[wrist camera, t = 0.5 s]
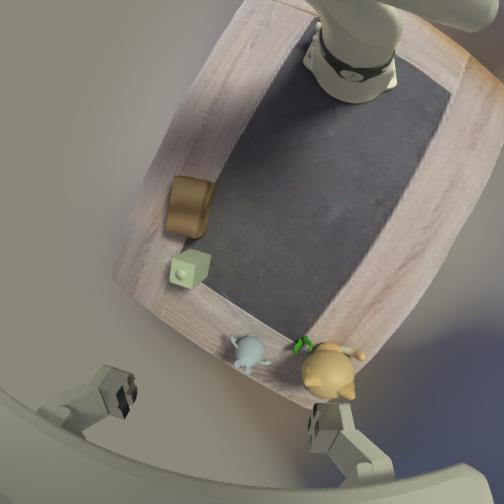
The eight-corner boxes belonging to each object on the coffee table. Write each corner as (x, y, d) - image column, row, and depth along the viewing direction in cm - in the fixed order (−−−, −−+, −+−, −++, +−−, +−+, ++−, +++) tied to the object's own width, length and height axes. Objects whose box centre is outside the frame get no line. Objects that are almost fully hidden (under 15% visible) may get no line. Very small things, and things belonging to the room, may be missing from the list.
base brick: (186, 176, 56) (174, 175, 52) (216, 182, 55) (206, 182, 50) (176, 225, 59) (165, 229, 55) (205, 234, 58) (195, 238, 53)
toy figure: (229, 335, 62) (210, 364, 51) (243, 316, 60) (225, 345, 49) (266, 360, 62) (255, 393, 50) (282, 343, 60) (273, 375, 48)
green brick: (190, 248, 60) (170, 258, 52) (211, 254, 59) (194, 266, 51) (186, 270, 61) (168, 282, 53) (207, 276, 60) (190, 290, 52)
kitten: (286, 356, 60) (276, 400, 46) (304, 321, 57) (298, 362, 43) (344, 376, 58) (346, 421, 44) (365, 344, 55) (374, 387, 41)
